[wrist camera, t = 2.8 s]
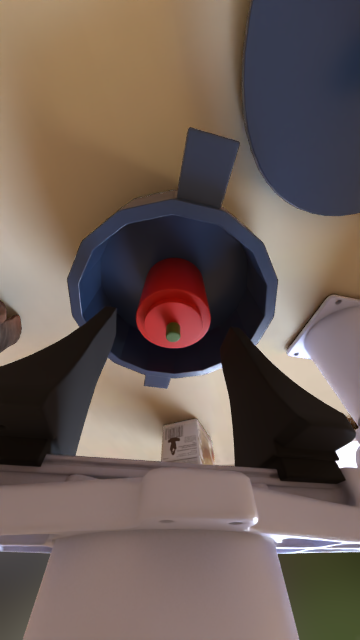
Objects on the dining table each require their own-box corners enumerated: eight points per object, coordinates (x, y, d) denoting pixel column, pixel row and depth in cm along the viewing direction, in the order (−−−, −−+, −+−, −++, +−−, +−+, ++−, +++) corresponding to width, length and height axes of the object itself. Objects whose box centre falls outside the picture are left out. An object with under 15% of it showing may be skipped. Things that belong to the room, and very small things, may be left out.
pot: (307, 172, 13) (361, 174, 9) (215, 364, 24) (222, 401, 21) (86, 109, 11) (38, 78, 7) (97, 347, 23) (81, 385, 19)
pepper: (210, 264, 16) (226, 311, 11) (195, 313, 19) (201, 368, 14) (149, 251, 16) (134, 295, 10) (143, 304, 19) (128, 359, 13)
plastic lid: (293, 449, 40) (299, 464, 38) (351, 415, 32) (363, 432, 30) (346, 458, 43) (355, 472, 41) (412, 429, 35) (426, 445, 33)
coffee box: (213, 440, 37) (231, 582, 25) (181, 445, 39) (183, 583, 26) (197, 417, 32) (209, 582, 19) (160, 424, 34) (150, 582, 21)
